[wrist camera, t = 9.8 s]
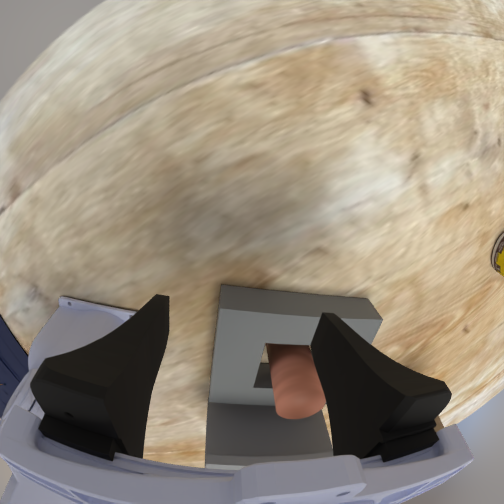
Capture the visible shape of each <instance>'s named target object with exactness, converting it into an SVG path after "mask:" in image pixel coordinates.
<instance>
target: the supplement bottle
mask: <svg viewBox="0 0 504 504" xmlns="http://www.w3.org/2000/svg"><path fill="white" fill-rule="evenodd" d="M492 265H493V268H494V269H495V270H496V271H497V272H498V273H500V274H501V275H502V276H504V233H503V234H502V235H501V236H500V237H499V239H498V240H497V242H496V244H495V247H494V250H493V254H492Z"/></svg>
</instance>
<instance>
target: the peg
mask: <svg viewBox="0 0 504 504" xmlns="http://www.w3.org/2000/svg"><path fill="white" fill-rule="evenodd" d="M266 347H267V354H268V360H269V367H270V374H271V380H272V387H273V393H274V400H275V407H276V412H277V414H278V415H279V416H281V417H283V418H286V419H302V418H306V417H309V416H311V415H314V414H315V413H317V412H319V411H320V410H321V409H322V408H323V407H324V405H325V403H326V399H325V395H324V392H323V389H322V386H321V383H320V380H319V377H318V374H317V371H316V368H315V365H314V361H313V358H312V355H311V352H310V349H309V345H292V344H274V343H266Z"/></svg>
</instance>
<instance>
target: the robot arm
mask: <svg viewBox="0 0 504 504" xmlns="http://www.w3.org/2000/svg"><path fill="white" fill-rule="evenodd" d="M59 305H60V306H59V307H58V309H57V310H56V311H55V312H54V314H53V315H52V316H51V318H50V319H49V320H48V321H47V323H46V324H45V325H44V327H43V328H42V329H41V331H40V332H39V333H38V335H37V336H36V337H35V339H34V341H33V343H32V345H31V348H30V351H29V357H28V367H29V372H28V373H27V374H26V375H25V377H24V378H23V379H22V381H21V382H20V384H19V385H18V387H17V388H16V390H15V391H14V393H13V395H12V396H11V398H10V400H9V402H8V404H7V406H6V408H5V410H4V412H3V416H2V418H1V420H0V457H1V458H2V459H3V460H4V461H6V462H7V464H8V466H9V467H10V469H11V471H12V476H11V478H10V480H9V482H8V484H7V486H6V489H5V491H4V493H3V496H2V498H1V500H0V504H399V503H402V502H404V501H407V500H409V499H411V498H413V497H415V496H418V495H420V494H422V493H424V492H426V491H428V490H430V489H432V488H434V487H436V486H438V485H440V484H442V483H443V482H445V481H446V480H448V479H449V478H451V477H452V476H453V475H455V474H456V473H457V472H459V471H460V470H461V469H463V468H464V467H465V466H467V465H468V464H469V463H470V462H471V461H473V460H474V457H473V454H472V453H471V451H470V449H469V447H468V445H467V443H466V441H465V440H464V438H463V436H462V434H461V432H460V431H459V429H458V427H457V425H456V424H453V425H450V426H448V427H445V428H442V429H440V430H439V431H437V432H435V430H434V428H435V427H436V425H437V424H436V422H435V420H434V419H435V418H436V417H437V416H438V415H439V414H440V413H441V412H442V410H443V409H444V408H445V407H446V406H447V404H448V403H449V401H450V399H451V395H452V393H451V391H450V390H449V388H448V387H447V385H446V384H445V382H444V381H441V380H438V379H434V378H431V377H428V376H425V375H423V374H420V373H418V372H415V371H413V370H411V369H409V368H407V367H405V366H403V365H401V364H399V363H397V362H396V361H394V360H392V359H391V358H389V357H388V356H386V355H384V354H383V353H381V352H380V351H379V350H377V349H376V348H375V347H373V346H372V345H371V344H370V343H368V342H367V341H366V340H365V339H363V338H362V337H361V336H360V335H359V334H358V333H356V332H355V331H354V330H353V329H352V328H351V327H350V326H349V325H347V324H346V323H345V322H344V321H343V320H342V319H341V318H339V317H338V316H337V315H336V314H334V313H326V312H322V314H321V317H320V320H319V323H318V326H317V328H316V331H315V334H314V336H313V339H312V342H311V350H312V356H313V361H314V365H315V368H316V371H317V374H318V377H319V380H320V383H321V386H322V389H323V392H324V395H325V399H326V403H327V408H328V413H329V419H330V426H331V434H332V444H333V457H325V458H317V459H307V460H295V461H277V462H265V463H256V464H252V465H249V466H245V467H243V468H241V469H240V470H222V469H208V468H197V467H189V466H181V465H174V464H168V463H162V462H156V461H151V460H146V459H143V449H144V440H145V431H146V424H147V417H148V411H149V405H150V399H151V394H152V390H153V386H154V383H155V380H156V377H157V374H158V371H159V368H160V365H161V362H162V358H163V355H164V352H165V349H166V345H167V340H168V335H169V296H165V295H158V294H156V295H155V296H154V297H153V298H152V299H151V300H150V301H148V302H147V303H146V304H145V305H144V306H143V307H142V308H141V309H140V310H139V311H138V312H135V311H130V310H124V309H119V308H114V307H109V306H104V305H99V304H94V303H90V302H85V301H81V300H76V299H72V298H68V297H63V296H61V297H60V298H59ZM131 315H132V317H131Z"/></svg>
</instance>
